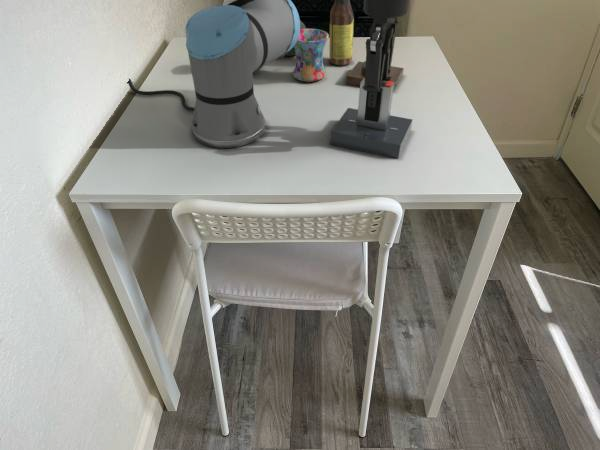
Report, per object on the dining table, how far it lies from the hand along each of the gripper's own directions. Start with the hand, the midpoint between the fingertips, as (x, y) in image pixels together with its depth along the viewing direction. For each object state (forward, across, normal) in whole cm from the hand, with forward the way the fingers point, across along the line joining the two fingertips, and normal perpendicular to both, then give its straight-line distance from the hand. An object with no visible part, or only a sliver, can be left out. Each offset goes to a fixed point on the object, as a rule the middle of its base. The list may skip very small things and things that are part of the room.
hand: (373, 116), depth 91 cm
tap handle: (+2, 0, 0) cm, 2 cm away
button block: (+5, +28, +7) cm, 29 cm away
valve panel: (+5, 0, 0) cm, 5 cm away
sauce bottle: (+5, +36, +19) cm, 41 cm away
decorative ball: (+5, +36, +34) cm, 50 cm away
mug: (+5, +25, +23) cm, 34 cm away
